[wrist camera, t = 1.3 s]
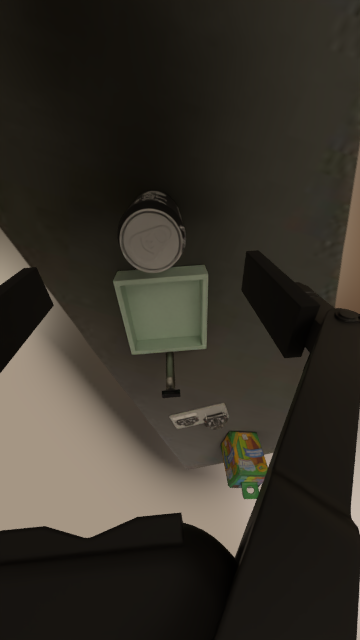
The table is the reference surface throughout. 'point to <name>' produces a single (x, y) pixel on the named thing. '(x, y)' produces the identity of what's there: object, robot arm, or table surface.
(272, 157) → the table surface
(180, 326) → the sink
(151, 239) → the beverage can
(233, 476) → the chalk box
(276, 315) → the robot arm
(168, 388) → the tap
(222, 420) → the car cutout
